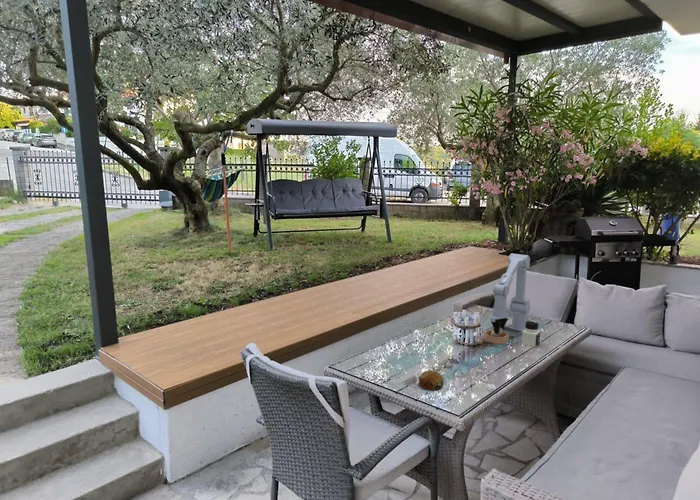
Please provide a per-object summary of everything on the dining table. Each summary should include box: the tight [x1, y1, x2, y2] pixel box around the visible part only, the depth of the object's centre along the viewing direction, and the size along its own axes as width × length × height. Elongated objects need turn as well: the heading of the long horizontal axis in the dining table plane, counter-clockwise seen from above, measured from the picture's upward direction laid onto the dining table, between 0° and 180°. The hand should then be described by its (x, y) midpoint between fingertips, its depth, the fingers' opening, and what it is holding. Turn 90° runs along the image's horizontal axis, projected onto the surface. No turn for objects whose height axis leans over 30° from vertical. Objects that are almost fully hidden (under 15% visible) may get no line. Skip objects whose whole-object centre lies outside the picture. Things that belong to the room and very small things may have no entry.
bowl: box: [483, 329, 510, 345], centre depth 249 cm, size 12×12×4 cm
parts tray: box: [503, 325, 524, 341], centre depth 258 cm, size 12×12×2 cm
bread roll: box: [418, 369, 445, 391], centre depth 196 cm, size 10×10×8 cm
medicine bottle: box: [521, 320, 541, 348], centre depth 243 cm, size 7×7×12 cm
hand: (498, 332), depth 247 cm, fingers closed on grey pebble, 4 cm apart
